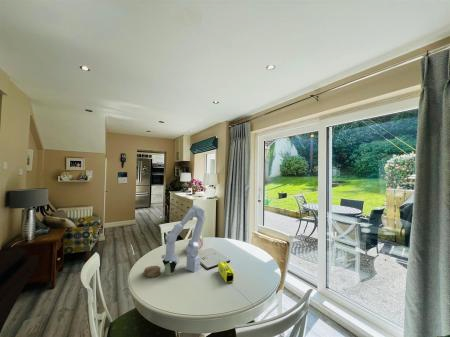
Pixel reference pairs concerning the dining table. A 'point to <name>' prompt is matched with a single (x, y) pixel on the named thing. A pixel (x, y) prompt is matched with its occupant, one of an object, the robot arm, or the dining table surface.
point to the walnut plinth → (152, 271)
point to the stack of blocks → (199, 242)
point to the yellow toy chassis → (225, 272)
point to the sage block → (168, 269)
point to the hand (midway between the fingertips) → (169, 271)
